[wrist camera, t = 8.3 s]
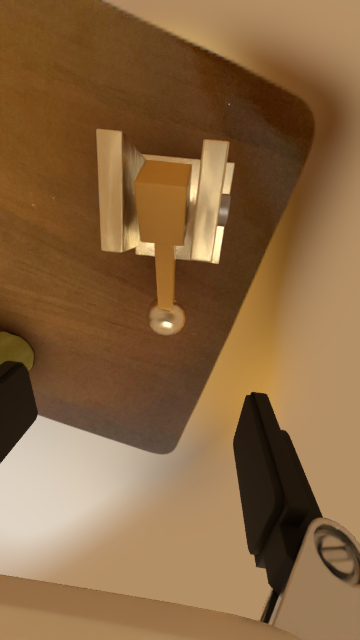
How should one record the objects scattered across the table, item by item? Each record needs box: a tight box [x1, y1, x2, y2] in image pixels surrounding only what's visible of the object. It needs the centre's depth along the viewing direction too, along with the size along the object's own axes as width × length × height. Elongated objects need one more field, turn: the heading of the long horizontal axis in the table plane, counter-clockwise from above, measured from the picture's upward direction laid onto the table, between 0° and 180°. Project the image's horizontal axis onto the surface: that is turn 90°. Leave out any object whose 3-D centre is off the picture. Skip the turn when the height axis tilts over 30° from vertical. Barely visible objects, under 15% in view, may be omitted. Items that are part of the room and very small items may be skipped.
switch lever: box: [133, 160, 192, 336], centre depth 15 cm, size 12×3×3 cm
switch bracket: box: [96, 129, 235, 264], centre depth 15 cm, size 8×8×13 cm
